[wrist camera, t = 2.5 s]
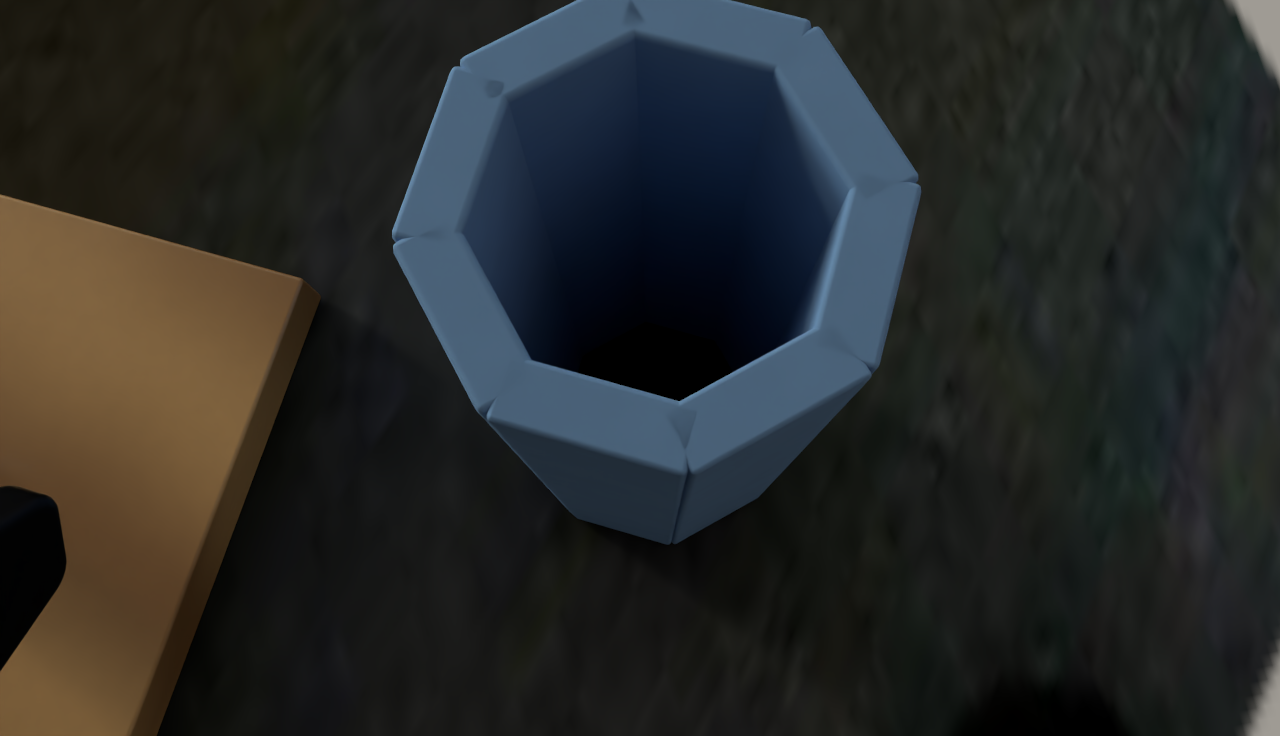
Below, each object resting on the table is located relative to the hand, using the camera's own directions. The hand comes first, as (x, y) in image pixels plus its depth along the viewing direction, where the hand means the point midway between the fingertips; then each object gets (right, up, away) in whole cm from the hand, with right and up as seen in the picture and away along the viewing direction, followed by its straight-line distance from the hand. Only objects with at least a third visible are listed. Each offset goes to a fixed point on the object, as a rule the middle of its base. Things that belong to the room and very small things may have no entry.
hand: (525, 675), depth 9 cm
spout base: (-12, 0, +12) cm, 16 cm away
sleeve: (+1, +2, +12) cm, 12 cm away
